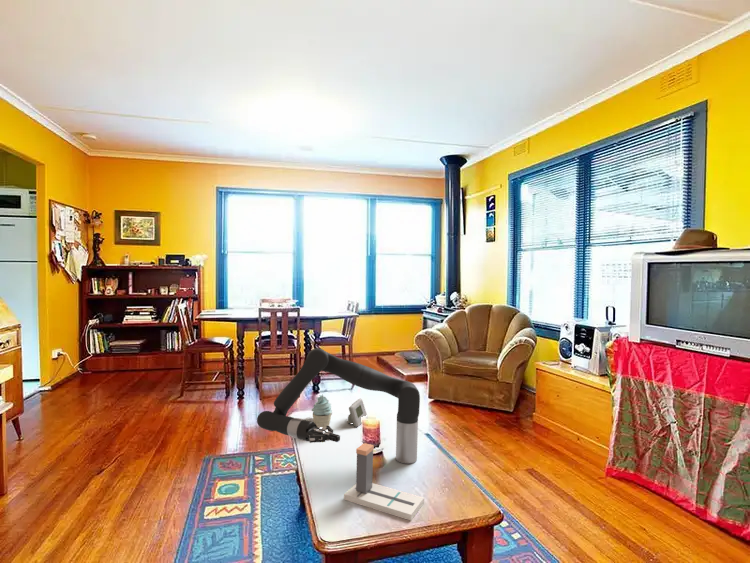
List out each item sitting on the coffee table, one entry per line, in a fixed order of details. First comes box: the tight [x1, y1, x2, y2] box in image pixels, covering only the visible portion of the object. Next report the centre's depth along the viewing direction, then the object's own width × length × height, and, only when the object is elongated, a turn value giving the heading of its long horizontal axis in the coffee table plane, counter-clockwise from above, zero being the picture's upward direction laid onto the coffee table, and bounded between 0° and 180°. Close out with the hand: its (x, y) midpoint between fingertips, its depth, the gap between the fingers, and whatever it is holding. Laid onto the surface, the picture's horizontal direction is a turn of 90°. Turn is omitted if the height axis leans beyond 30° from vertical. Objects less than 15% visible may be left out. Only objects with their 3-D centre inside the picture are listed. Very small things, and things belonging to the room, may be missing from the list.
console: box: [343, 482, 425, 521], centre depth 153 cm, size 12×26×2 cm, turn 63°
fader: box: [355, 442, 375, 494], centre depth 157 cm, size 6×4×16 cm, turn 153°
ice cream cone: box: [311, 394, 333, 428], centre depth 213 cm, size 10×11×20 cm
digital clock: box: [347, 398, 368, 428], centre depth 230 cm, size 16×9×11 cm, turn 151°
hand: (339, 438), depth 161 cm, fingers closed
